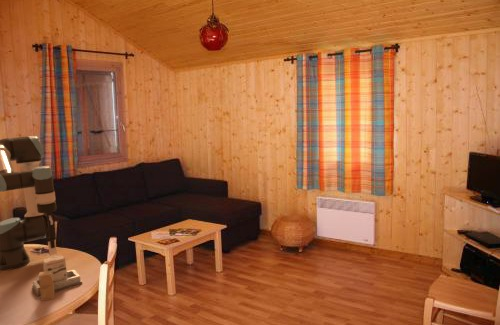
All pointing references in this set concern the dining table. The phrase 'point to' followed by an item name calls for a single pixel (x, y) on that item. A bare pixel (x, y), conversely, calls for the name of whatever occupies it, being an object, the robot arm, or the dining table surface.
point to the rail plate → (60, 282)
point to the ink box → (56, 267)
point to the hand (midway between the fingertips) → (53, 254)
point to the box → (46, 285)
